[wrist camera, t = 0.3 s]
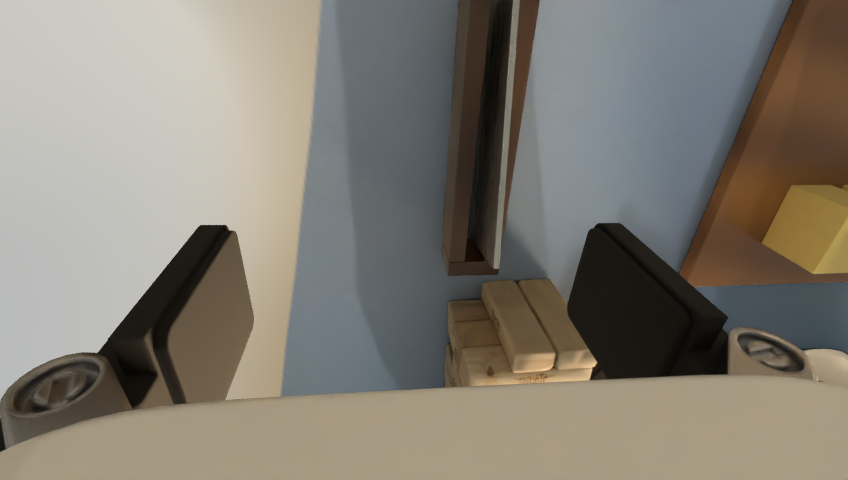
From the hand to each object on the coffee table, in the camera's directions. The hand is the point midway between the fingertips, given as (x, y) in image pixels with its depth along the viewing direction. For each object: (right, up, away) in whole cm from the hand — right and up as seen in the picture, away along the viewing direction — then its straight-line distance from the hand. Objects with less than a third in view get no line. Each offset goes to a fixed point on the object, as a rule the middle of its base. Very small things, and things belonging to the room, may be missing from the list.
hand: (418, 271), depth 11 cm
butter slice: (+26, +3, +17) cm, 31 cm away
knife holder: (+3, +7, +13) cm, 15 cm away
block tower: (+6, -15, +26) cm, 30 cm away
